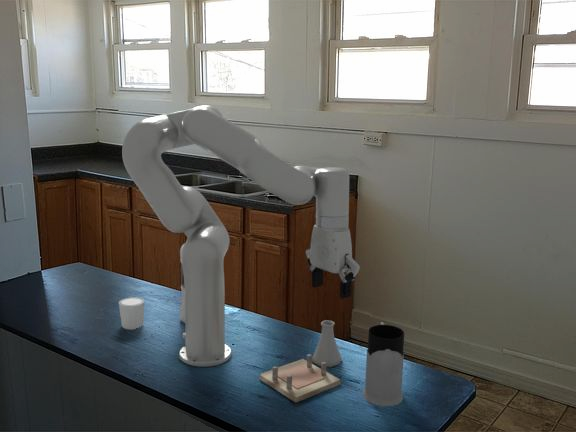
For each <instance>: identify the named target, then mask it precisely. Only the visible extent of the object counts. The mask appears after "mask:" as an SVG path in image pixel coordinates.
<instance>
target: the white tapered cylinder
mask: <svg viewBox="0 0 576 432" xmlns="http://www.w3.org/2000/svg"><path fill="white" fill-rule="evenodd" d="M145 302H146V301H145V299H144V298H142V297H136V296H134V297H133V296H132V297H126V298H123V299H120V300H119V301H118V306H119V315H120V321H121V327H122V329H125V330H136V328H138V329H140V328H142V327H143V326H144V317H145ZM141 326H142V327H141ZM139 327H140V328H139Z"/></svg>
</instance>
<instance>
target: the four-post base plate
mask: <svg viewBox="0 0 576 432" xmlns="http://www.w3.org/2000/svg"><path fill="white" fill-rule="evenodd" d="M312 357H313V355H312V354H310V353H309V354H307V355H306V359H304V358H300V359H299V360H296V361H293V362H290V363H286V364H284V365H281V366H279V367H278V366H273V367H272V368H271V369H270V370H268V371H265V372H262V373H260V374H258V375H259V376H258V377H259V378H258V379H259V380H260V381H262V382H263V383H265V384H266V385H268V386H270V387H271V388H272V389H274V390H276V391H277V392H279V393H281V394H282V395H283V396H285V397H286V398H288V399H290V400H291V401H293V403H294V402H295V403H298V402H301V401H303V400H306V399H308V398H310V397H313V396H315V395H318V394H320V393H323V392H325V391H327V390H329V389H333V388H336V387H338V386H340V385H341V379H340V378H338V377H337V376H335V375H333V374H331V373H330V372H328V371H327V370H328V369H327V368H328V367H327V363H326V362H322V363H321V366H319V367H318V365H316V364H314V363H313V362H312Z"/></svg>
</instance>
